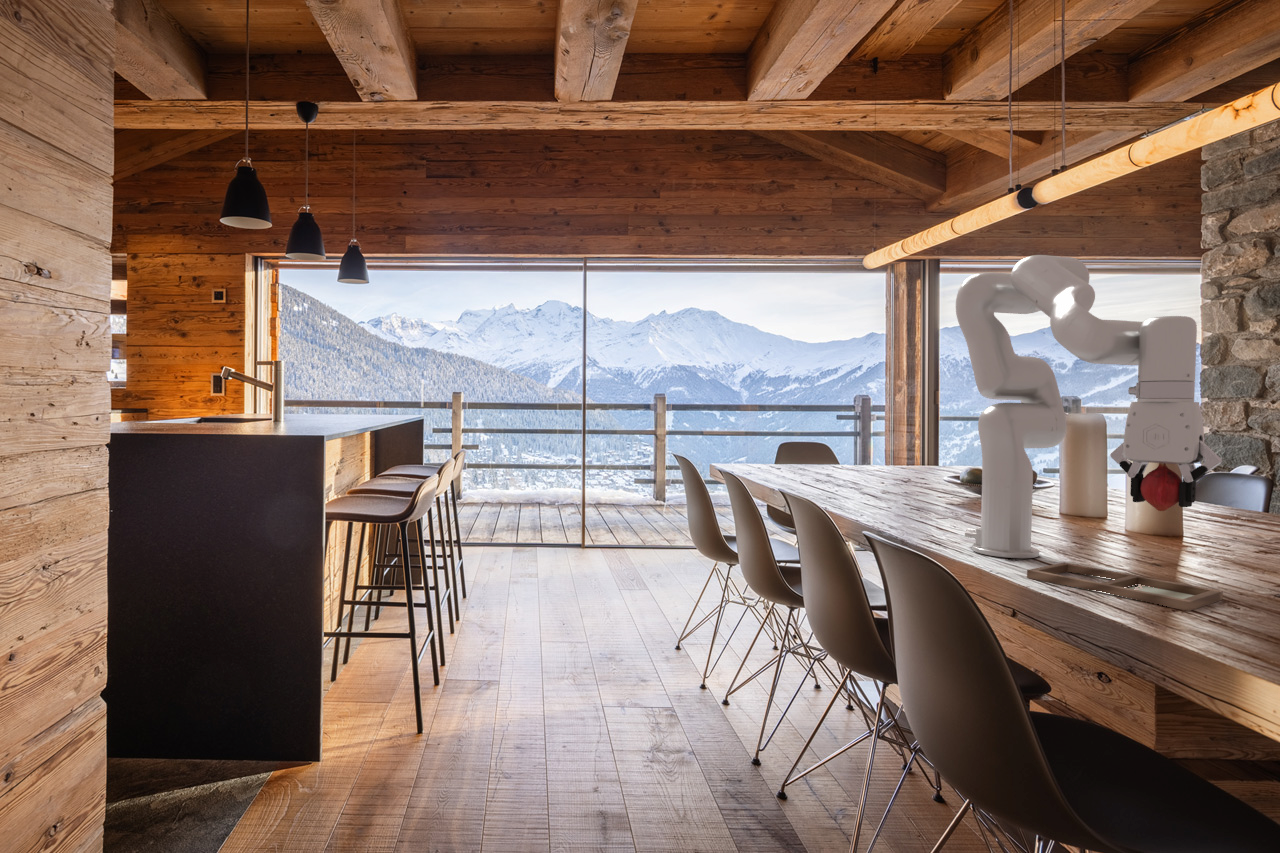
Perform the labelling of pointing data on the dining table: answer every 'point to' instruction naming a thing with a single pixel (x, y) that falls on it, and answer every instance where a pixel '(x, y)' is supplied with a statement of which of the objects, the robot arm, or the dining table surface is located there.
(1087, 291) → the robot arm
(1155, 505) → the onion
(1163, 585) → the rail frame
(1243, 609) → the dining table surface
